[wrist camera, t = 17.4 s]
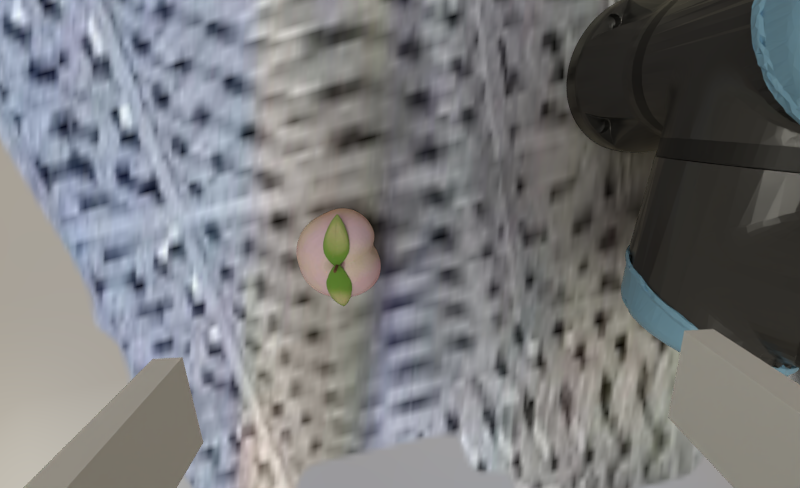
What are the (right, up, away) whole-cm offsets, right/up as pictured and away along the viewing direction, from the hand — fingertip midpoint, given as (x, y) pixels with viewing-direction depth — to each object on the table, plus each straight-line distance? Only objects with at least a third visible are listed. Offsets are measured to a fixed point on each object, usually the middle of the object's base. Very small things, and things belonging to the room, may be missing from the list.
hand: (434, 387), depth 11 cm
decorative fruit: (-7, +4, +35) cm, 36 cm away
